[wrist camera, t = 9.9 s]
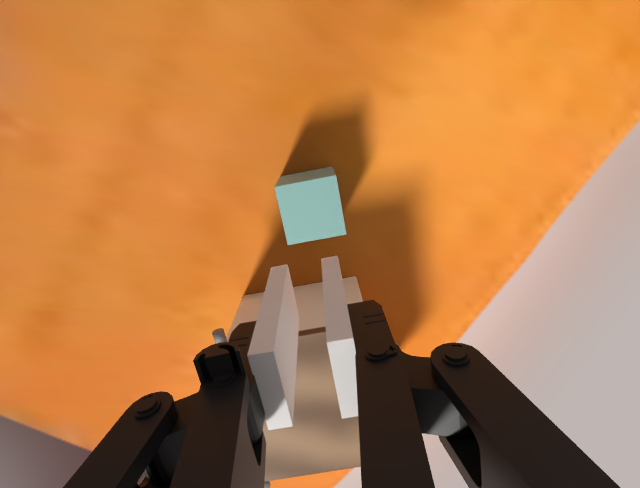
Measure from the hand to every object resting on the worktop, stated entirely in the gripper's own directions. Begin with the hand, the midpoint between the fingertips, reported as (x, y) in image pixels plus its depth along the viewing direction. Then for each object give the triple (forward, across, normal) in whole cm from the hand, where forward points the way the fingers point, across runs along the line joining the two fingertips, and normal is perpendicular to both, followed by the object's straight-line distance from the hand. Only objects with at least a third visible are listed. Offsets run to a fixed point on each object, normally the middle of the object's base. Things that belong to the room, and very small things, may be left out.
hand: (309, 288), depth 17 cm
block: (+20, 0, 0) cm, 20 cm away
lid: (+11, -2, -16) cm, 20 cm away
